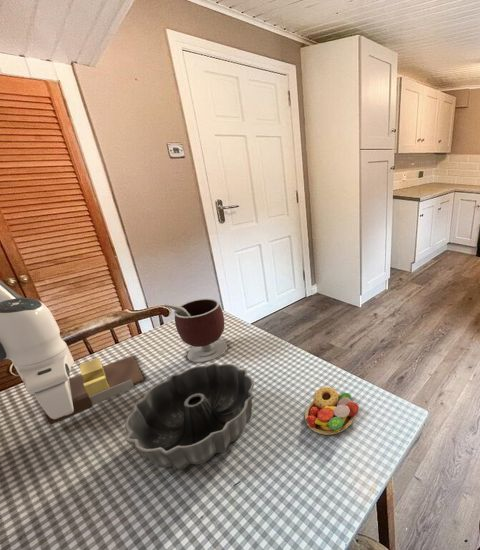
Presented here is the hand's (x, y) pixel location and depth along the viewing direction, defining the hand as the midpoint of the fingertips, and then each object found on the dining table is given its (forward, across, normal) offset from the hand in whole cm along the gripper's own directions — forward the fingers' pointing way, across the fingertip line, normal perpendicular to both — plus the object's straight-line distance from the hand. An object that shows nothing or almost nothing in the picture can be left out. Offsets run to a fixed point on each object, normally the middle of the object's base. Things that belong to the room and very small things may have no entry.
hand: (68, 408), depth 76 cm
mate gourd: (+4, -6, +34) cm, 35 cm away
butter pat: (+3, -7, +6) cm, 9 cm away
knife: (+2, 0, +4) cm, 4 cm away
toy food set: (+4, +46, +47) cm, 66 cm away
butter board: (+4, -12, +6) cm, 14 cm away
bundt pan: (+4, +27, +22) cm, 35 cm away
